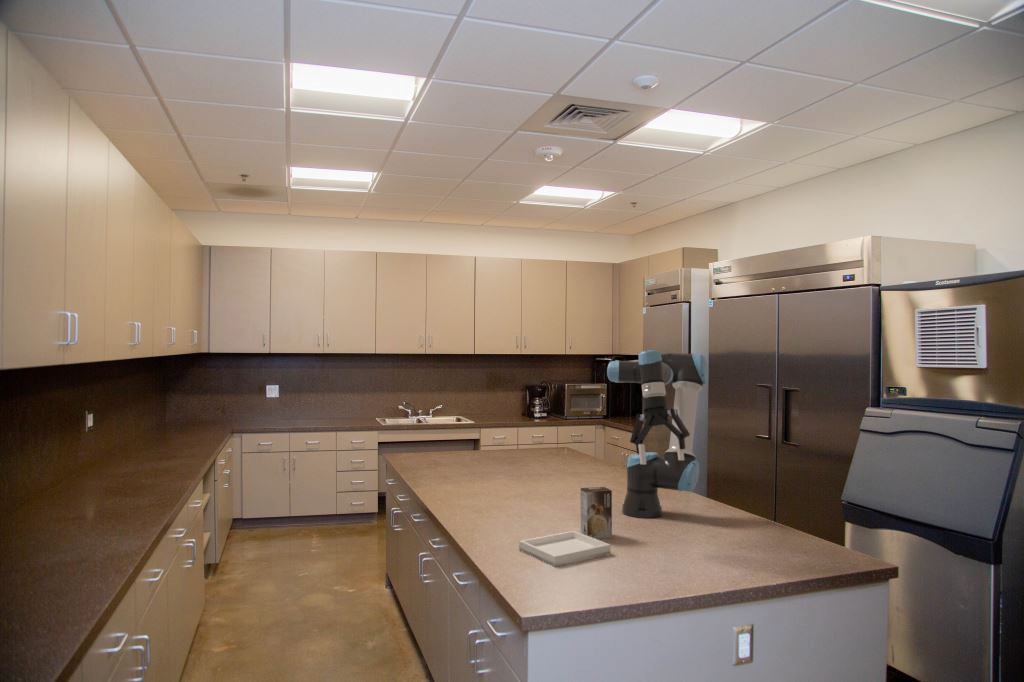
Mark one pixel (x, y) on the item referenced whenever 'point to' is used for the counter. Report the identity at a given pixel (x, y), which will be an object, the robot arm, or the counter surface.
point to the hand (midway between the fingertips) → (662, 462)
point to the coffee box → (596, 512)
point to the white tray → (564, 548)
